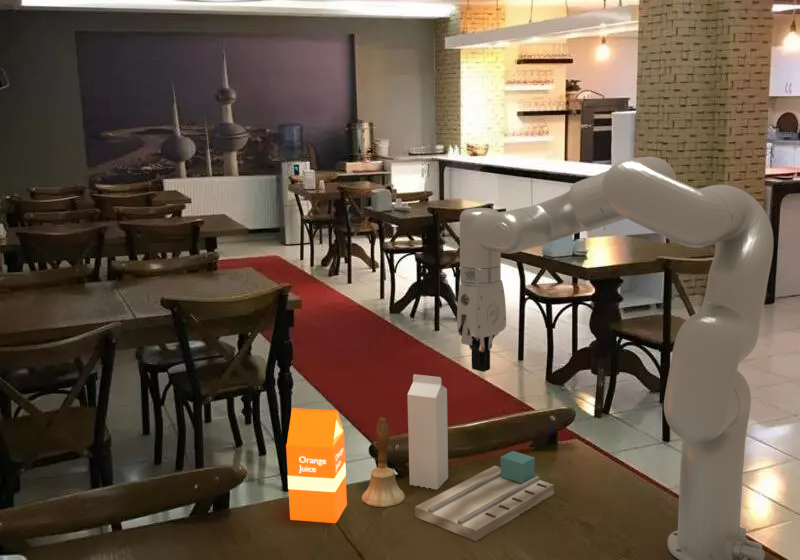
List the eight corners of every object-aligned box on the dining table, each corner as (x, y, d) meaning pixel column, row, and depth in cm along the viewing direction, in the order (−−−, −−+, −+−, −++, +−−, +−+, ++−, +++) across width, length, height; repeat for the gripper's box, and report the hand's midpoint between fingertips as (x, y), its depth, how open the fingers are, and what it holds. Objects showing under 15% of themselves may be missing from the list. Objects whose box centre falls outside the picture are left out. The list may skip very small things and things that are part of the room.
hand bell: (376, 485, 169) (374, 408, 166) (413, 493, 164) (411, 415, 161) (353, 501, 162) (350, 422, 159) (390, 511, 157) (388, 429, 154)
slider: (534, 476, 165) (534, 457, 164) (522, 483, 162) (522, 463, 162) (512, 469, 169) (512, 450, 168) (500, 476, 166) (500, 457, 165)
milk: (421, 474, 173) (418, 369, 169) (448, 478, 171) (447, 372, 167) (409, 485, 168) (406, 378, 164) (437, 490, 166) (435, 381, 162)
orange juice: (336, 523, 153) (331, 417, 149) (289, 520, 155) (283, 415, 151) (347, 504, 161) (343, 403, 157) (302, 501, 163) (297, 401, 159)
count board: (553, 494, 163) (553, 481, 162) (476, 541, 145) (475, 527, 145) (494, 474, 172) (494, 462, 172) (415, 516, 155) (414, 503, 154)
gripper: (472, 283, 151) (473, 383, 154) (519, 270, 162) (519, 364, 165) (439, 279, 156) (440, 375, 159) (487, 267, 167) (487, 357, 170)
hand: (480, 369), depth 162 cm, fingers closed
